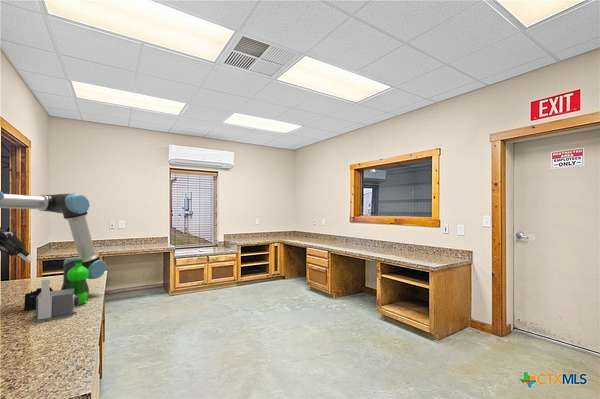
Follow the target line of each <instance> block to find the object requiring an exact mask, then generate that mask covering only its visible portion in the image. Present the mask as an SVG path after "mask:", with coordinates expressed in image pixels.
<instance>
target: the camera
mask: <svg viewBox="0 0 600 399" xmlns="http://www.w3.org/2000/svg"><path fill="white" fill-rule="evenodd" d="M50 291H54V290H53V289H52V287H50ZM40 292H41V287H38V288H36V289H35V290H31V291H30V292H28V293H25V295H24V304H23V305H24V308H23V311H24V312H29V311H32V310H36V298H37V296H38V295H39V294H40Z"/></svg>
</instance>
